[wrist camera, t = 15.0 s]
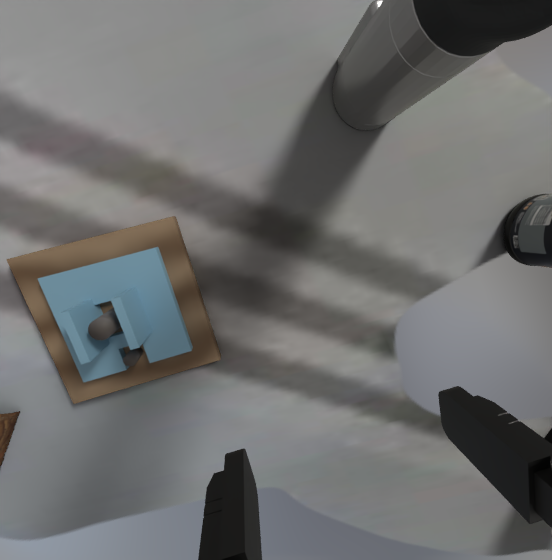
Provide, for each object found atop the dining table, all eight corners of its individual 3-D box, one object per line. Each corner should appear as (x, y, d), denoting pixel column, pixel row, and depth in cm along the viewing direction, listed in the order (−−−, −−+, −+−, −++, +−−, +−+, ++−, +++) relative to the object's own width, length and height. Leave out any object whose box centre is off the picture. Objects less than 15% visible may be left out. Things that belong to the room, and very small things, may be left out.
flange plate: (44, 276, 35) (4, 287, 29) (158, 246, 36) (142, 251, 30) (88, 377, 38) (60, 406, 32) (192, 347, 39) (184, 369, 33)
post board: (15, 258, 36) (-41, 266, 29) (175, 216, 37) (160, 214, 30) (79, 397, 40) (44, 435, 33) (220, 355, 42) (217, 382, 34)
